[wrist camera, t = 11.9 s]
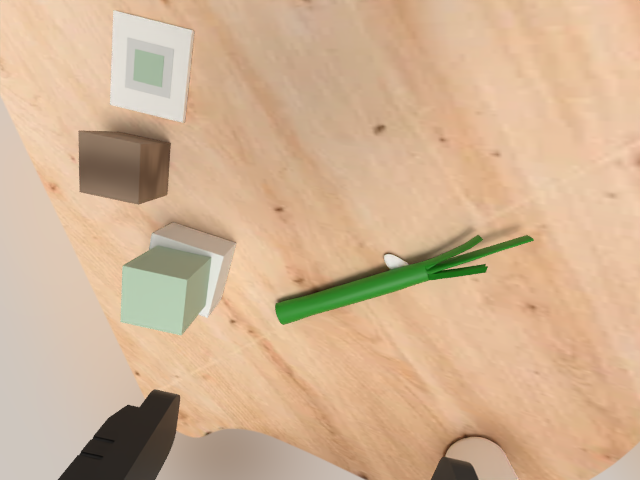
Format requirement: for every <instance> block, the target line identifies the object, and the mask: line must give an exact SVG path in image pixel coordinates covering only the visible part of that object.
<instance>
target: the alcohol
mask: <svg viewBox="0 0 640 480" xmlns="http://www.w3.org/2000/svg"><path fill="white" fill-rule="evenodd" d="M445 457H448V458H453V459H457V460H462V461H466V462H469V463H471V464H472V466H473V467H474V469H475V472H476V474H477V476H478V479H479V480H519V479H518V477H517V475H516V473H515V471H514V469H513V467H512V466H511V464H510V462H509V460H508V458H507V456H506V454H505V453H504V451H503V449H502V448H501V447H500V446H498V445H497V444H495V443H494V442H492V441H490V440H488V439H486V438H482V437H467V438H463V439H460V440H458V441H457V442H455V443H454V444H452V445H451V446H450V448H449V449H448V451H447V453H446V456H445Z"/></svg>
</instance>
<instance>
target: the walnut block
mask: <svg viewBox="0 0 640 480" xmlns="http://www.w3.org/2000/svg"><path fill="white" fill-rule="evenodd" d="M170 145H171V143H168V142H163V141H158V140H154V139H149V138H144V137H140V136H135V135H130V134H126V133H121V132H106V131H79V180H80V192H82V193H87V194H91V195H96V196H101V197H105V198H110V199H115V200H120V201H124V202H129V203H134V204H141V203H144V202H147V201H150V200H153V199H156V198H160V197H163V196H166V195H167V192H168V176H169V161H170Z"/></svg>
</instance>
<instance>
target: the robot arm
mask: <svg viewBox="0 0 640 480" xmlns="http://www.w3.org/2000/svg"><path fill="white" fill-rule="evenodd" d="M179 404H180V395H177V394H173V393H169V392H164V391H160V390H153V391H152V392H151V393H150V394H149V395H148V397H147V398H146V399H145V401H144V402H143V403H142V405H141V406H140V407H135V406H130V405H127V406H125V407H124V408H122V409H121V410H119V411H118V412H117V413H115V414H114V415H112V416H111V417H109V418H108V419H107V421H106V422H105V423H104V424H103V425H102V427H101V428H100V429H99V430H98V432H97V433H96V434H95V435H94V437H93V439H92V440H90V441H89V442H88V444H87V445H86V446H85V447H84V448H83V450H82V451H81V453H80V455H78V456H77V457H76V458H75V459H74V461H73V462H72V463H71V464H70V465H69V467H68V468H67V469H66V470H65V472H64V473H63V474H62V475H61V476H60V478H59V479H58V480H155V479H156V477H157V475H158V473H159V471H160V470H161V468H162V466H163V464H164V462H165V460H166V458H167V456H168V454H169V452H170V449H171V447H172V444H173V441H174V438H175V434H176V427H177V419H178V412H179ZM431 480H479V479H478V476H477V474H476V472H475V469H474V467H473V466H472V464H471V463H469V462H466V461H462V460H457V459H453V458H448V457H442V458H441V460H440V461H439V464H438V466H437V468H436V470H435V472H434V474H433V476H432V479H431Z"/></svg>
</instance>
